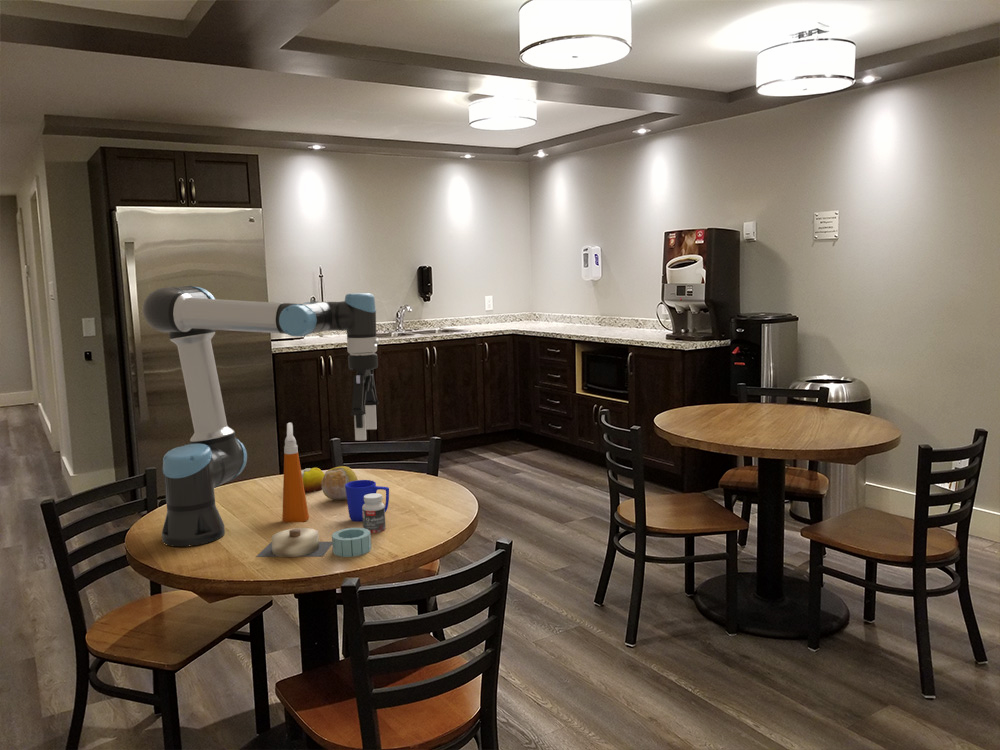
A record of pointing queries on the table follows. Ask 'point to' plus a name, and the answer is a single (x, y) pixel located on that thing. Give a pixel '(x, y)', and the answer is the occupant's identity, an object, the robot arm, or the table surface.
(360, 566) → the table surface
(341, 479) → the fruit
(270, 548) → the mat
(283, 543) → the lid
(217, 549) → the table surface
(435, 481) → the table surface
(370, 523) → the pill bottle
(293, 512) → the orange squeeze bottle
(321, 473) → the fruit
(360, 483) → the mug
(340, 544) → the bowl
